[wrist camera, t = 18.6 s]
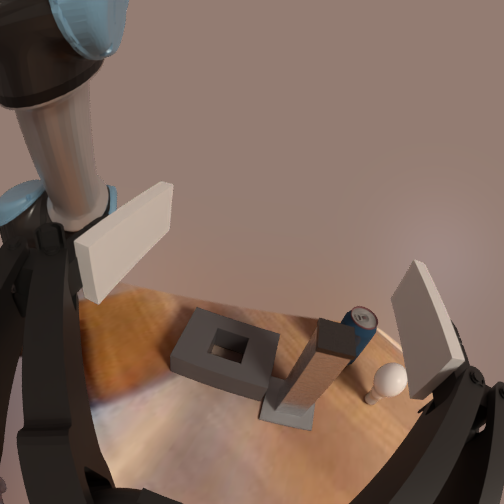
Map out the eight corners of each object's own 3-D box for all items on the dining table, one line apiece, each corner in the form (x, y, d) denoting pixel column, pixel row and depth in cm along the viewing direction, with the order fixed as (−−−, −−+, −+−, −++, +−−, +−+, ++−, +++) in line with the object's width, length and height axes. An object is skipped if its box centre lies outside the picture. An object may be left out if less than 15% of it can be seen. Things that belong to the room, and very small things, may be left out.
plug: (273, 411, 40) (317, 347, 30) (278, 388, 44) (319, 317, 34) (301, 418, 40) (356, 356, 30) (305, 394, 44) (354, 327, 34)
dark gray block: (170, 370, 43) (170, 355, 40) (194, 324, 53) (196, 307, 50) (260, 401, 42) (268, 388, 39) (272, 349, 52) (280, 333, 49)
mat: (258, 419, 39) (259, 418, 39) (269, 376, 46) (269, 375, 46) (310, 430, 38) (311, 430, 38) (315, 388, 46) (316, 387, 46)
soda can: (348, 343, 57) (373, 305, 50) (356, 368, 51) (385, 331, 45) (320, 342, 56) (343, 302, 49) (327, 369, 50) (354, 330, 44)
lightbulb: (354, 385, 47) (383, 352, 42) (381, 389, 47) (411, 358, 41) (354, 412, 42) (387, 382, 36) (382, 415, 42) (417, 386, 36)
